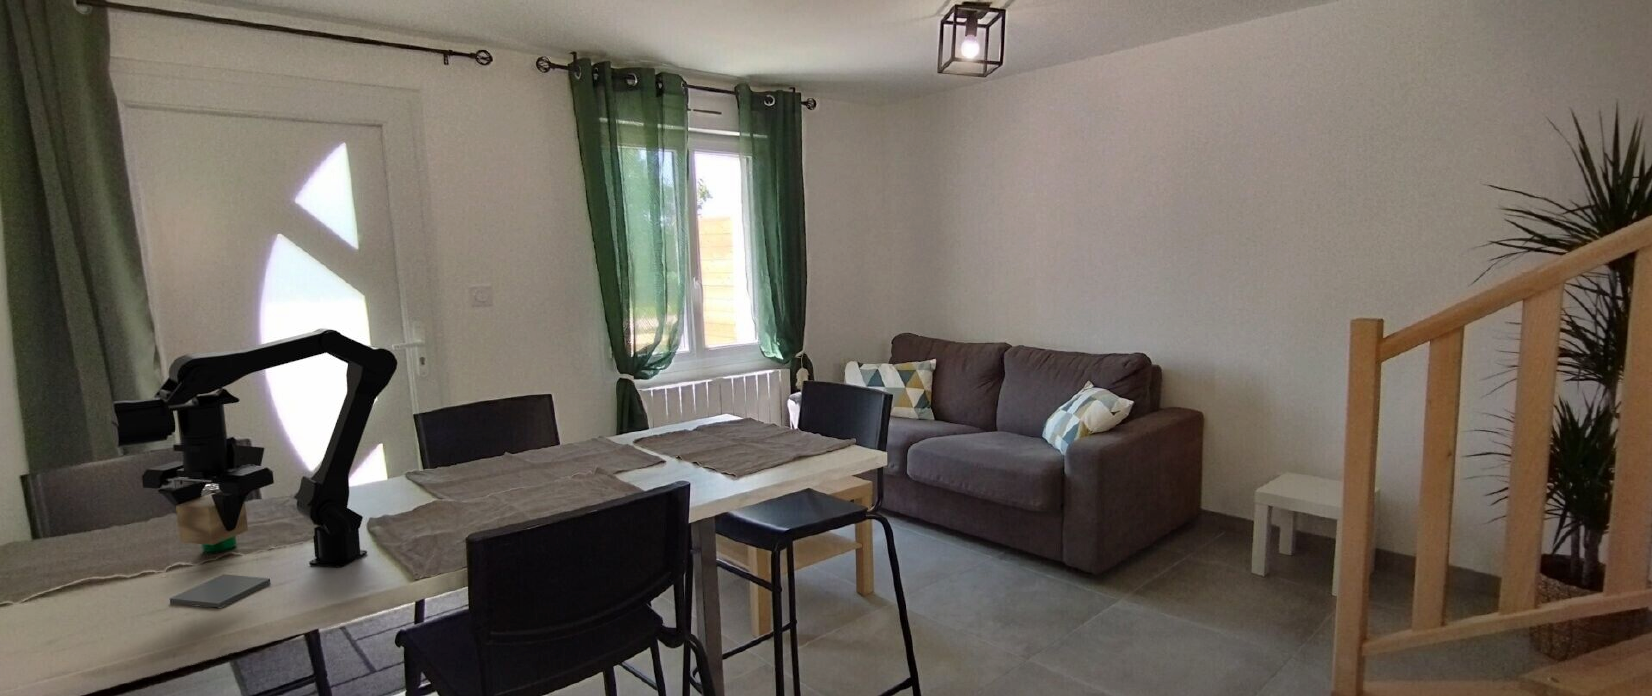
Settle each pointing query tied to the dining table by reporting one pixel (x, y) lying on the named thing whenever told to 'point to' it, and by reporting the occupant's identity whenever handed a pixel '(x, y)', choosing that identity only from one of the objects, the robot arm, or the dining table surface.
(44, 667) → the dining table surface
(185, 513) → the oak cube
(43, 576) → the dining table surface
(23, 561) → the dining table surface
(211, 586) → the slate coaster
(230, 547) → the soda can
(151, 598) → the dining table surface
